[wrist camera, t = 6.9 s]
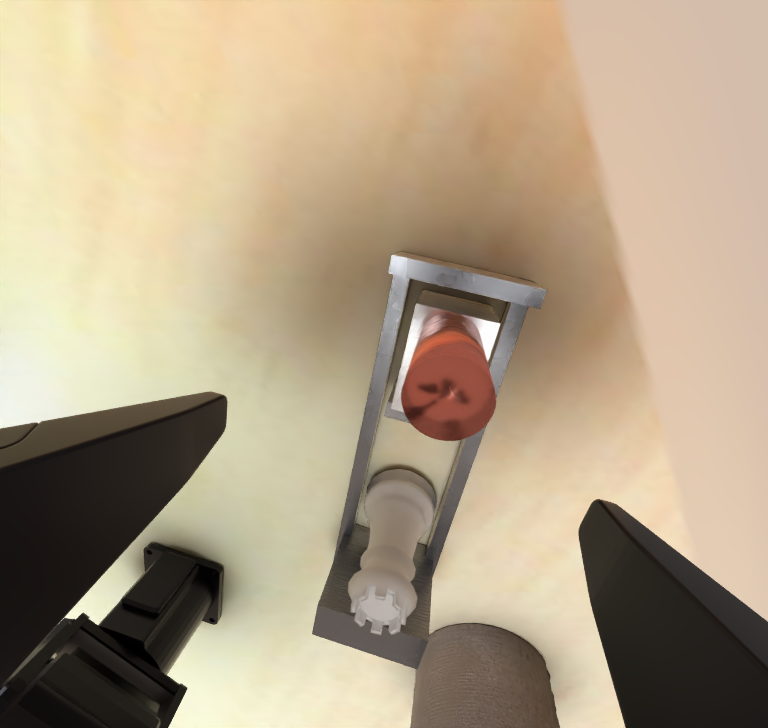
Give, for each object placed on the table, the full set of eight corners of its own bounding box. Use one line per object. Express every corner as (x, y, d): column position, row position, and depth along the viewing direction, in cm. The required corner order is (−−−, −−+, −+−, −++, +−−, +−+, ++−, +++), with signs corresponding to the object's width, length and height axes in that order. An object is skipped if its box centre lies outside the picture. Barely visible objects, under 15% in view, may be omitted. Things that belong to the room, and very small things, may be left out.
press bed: (428, 578, 25) (421, 675, 20) (337, 550, 26) (306, 637, 20) (532, 281, 18) (568, 303, 12) (400, 251, 18) (378, 259, 13)
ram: (463, 406, 21) (471, 539, 12) (394, 388, 21) (351, 504, 12) (495, 306, 18) (535, 376, 10) (418, 288, 19) (387, 338, 10)
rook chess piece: (388, 529, 25) (359, 657, 17) (355, 477, 24) (310, 588, 16) (449, 511, 23) (447, 641, 16) (417, 454, 22) (399, 565, 15)
